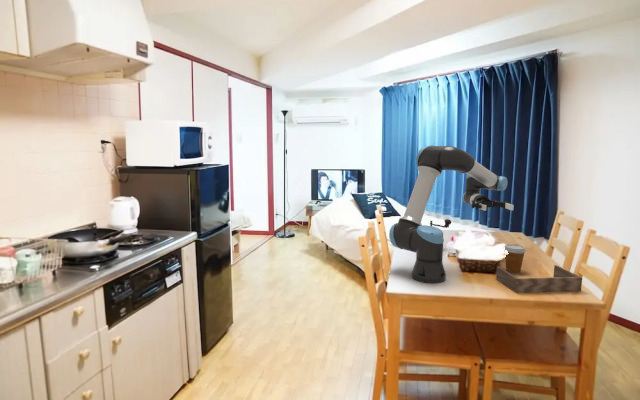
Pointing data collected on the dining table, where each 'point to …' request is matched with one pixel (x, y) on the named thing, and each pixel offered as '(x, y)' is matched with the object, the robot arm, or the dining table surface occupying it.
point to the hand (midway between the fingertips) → (499, 208)
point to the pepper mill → (447, 223)
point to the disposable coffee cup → (514, 258)
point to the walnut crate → (541, 282)
